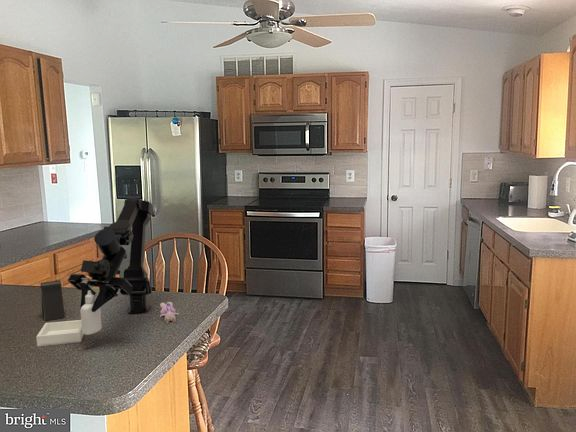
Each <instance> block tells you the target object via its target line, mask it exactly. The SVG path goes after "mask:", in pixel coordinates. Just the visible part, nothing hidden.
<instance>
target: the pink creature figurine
mask: <svg viewBox="0 0 576 432" xmlns="http://www.w3.org/2000/svg"><path fill="white" fill-rule="evenodd" d="M159 305H160V308H161V310H160V311H159V314H160V315H159V317H160V318H162V317H164V321H165V323H166V324H169V323H170V322H173V323H174V324H175V323H177V318H176V315H179V312H176V311H177V310H176V309H175V308H174V306H173V305H174V304H173V302H172V301H167V302H166V303H165V302H161V303H160V304H159Z"/></svg>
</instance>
